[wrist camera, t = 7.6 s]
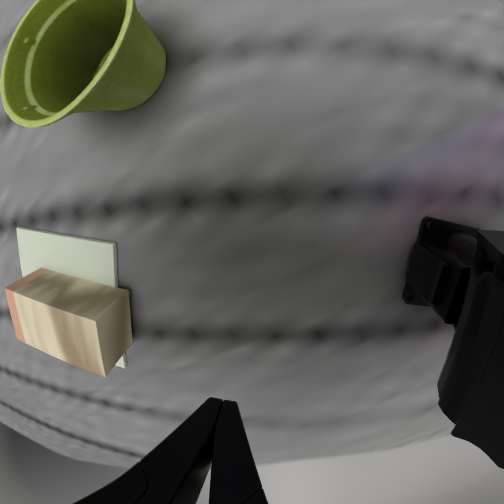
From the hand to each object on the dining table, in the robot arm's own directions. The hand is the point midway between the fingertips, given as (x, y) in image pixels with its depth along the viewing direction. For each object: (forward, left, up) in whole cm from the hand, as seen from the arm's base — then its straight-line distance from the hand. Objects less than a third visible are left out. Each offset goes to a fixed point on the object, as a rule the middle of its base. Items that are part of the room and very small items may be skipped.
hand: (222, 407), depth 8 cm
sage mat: (+17, +6, -13) cm, 22 cm away
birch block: (+10, +6, -10) cm, 15 cm away
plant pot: (+11, -13, -13) cm, 22 cm away
